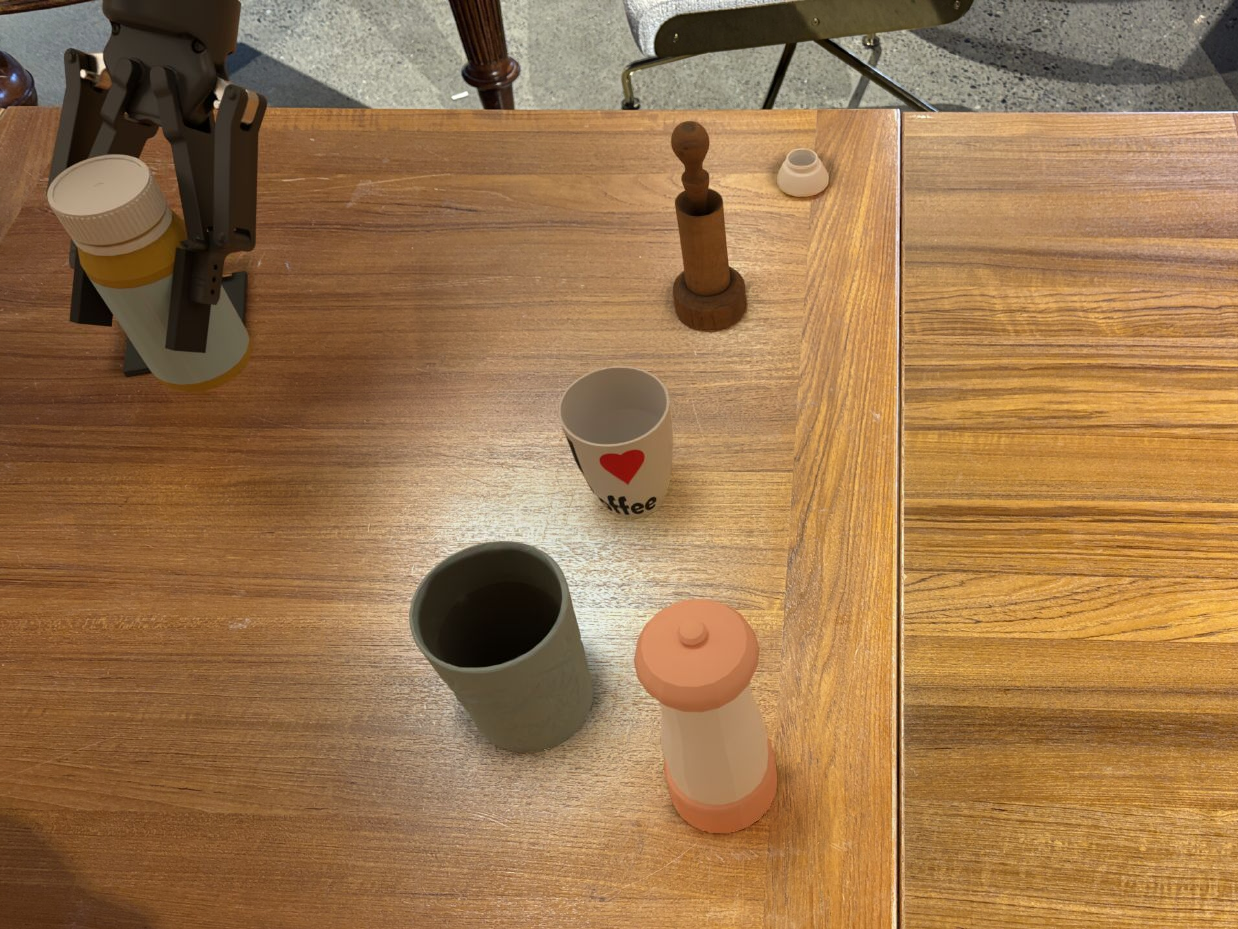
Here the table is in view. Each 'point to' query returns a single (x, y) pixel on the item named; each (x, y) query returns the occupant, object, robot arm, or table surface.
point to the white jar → (802, 174)
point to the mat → (237, 295)
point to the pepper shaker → (708, 713)
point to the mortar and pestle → (703, 242)
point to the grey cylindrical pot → (506, 643)
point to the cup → (620, 437)
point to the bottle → (142, 267)
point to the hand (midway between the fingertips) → (137, 336)
